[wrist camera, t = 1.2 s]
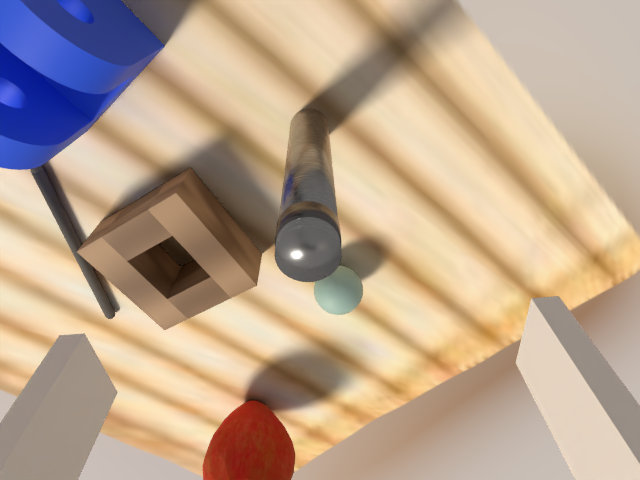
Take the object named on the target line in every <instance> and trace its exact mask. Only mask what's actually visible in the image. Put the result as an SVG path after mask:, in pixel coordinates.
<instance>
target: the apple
mask: <svg viewBox="0 0 640 480" xmlns="http://www.w3.org/2000/svg"><path fill="white" fill-rule="evenodd" d="M294 464H295V451H294V447H293V443H292V440H291V438H290V437H289V435H288V433H287V431H286V429H285V427H284V426H283V424H282V423H281V422H280V421H279V419H278V418H277V417H276V416H275V414H274V413H273V412H272V411H271V409H270V408H269V407H267V406H266V405H265V404H263V403H261V402H259V401H253V400H251V401H248V402H246V403H244V404H243V405H241V406H240V407H238V408H237V409H235V410H234V411H233V412H232V413H231V414H230V415H229V416H228V417H227V418H226V419H225V420H224V421H223V422H222V424H221V425H220V427H219V428H218V429H217V431H216V432H215V434H214V435H213V437H212V439H211V441H210V444H209V447H208V450H207V453H206V456H205V459H204V463H203V480H291V478H292V475H293V473H294Z"/></svg>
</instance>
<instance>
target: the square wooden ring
mask: <svg viewBox="0 0 640 480" xmlns="http://www.w3.org/2000/svg"><path fill="white" fill-rule="evenodd" d="M171 236H173V237H174V238H175V239H176V240H177V241H178V242H179V243H180V244H181V246H182V247H183V248H184V249H185V250H186V251H187V252H188V253H189V254H190V255H191V256H192V257H193V258H194V259H195V260H193V261H192V262H190V263H188V264H186V265H184V266H182V267H180V266H179V265H178V264H177V263H176V262H175V261H174V260H173V259H172V258H171V257H170V256H169V255H168V254H167V253H166V252H165V251H164V250H163V249H162V248H161V247H160V246H159V245H158V244H159V243H160V242H162V241H164V240H166V239H168V238H169V237H171ZM77 253H78V254H80V255H81V256H82V257H83V258H84V259H85V260H86V261H87V262H89V263H90V264H91V265H92V266H93V267H94V268H95V269H96V270H98V271H99V272H100V273H101V274H102V275H103V276H104V277H105V278H107V279H108V280H109V281H110V282H111V283H112V284H113V285H114V286H116V287H117V288H118V289H119V290H120V291H121V292H122V293H123V294H125V295H126V296H127V297H128V298H129V299H130V300H131V301H132V302H133V303H135V304H136V305H137V306H138V307H139V308H140V309H141V310H142V311H144V312H145V313H146V314H147V315H148V316H149V317H150V318H151V319H153V320H154V321H155V322H156V323H157V324H158V325H159V326H160V327H162V328H163V329H164V330H166V329H168V328H170V327H172V326H174V325H176V324H178V323H181V322H183V321H185V320H187V319H189V318H191V317H193V316H195V315H197V314H199V313H201V312H203V311H205V310H207V309H209V308H211V307H213V306H216V305H218V304H220V303H222V302H224V301H226V300H228V299H230V298H232V297H234V296H236V295H238V294H240V293H242V292H244V291H246V290H249V289H251V288H253V287H255V286H257V281H258V275H259V269H260V263H261V257H262V254H261V252H260V251H259V250H258V249H257V247H256V246H255V245H254V244H253V243H252V241H251V240H250V239H249V238H248V237H247V235H246V234H245V233H244V232H243V230H242V229H241V228H240V227H239V226H238V224H237V223H236V222H235V221H234V219H233V218H232V217H231V216H230V215H229V213H228V212H227V211H226V210H225V208H224V207H223V206H222V205H221V204H220V202H219V201H218V200H217V199H216V198H215V196H214V195H213V194H212V193H211V191H210V190H209V189H208V188H207V187H206V185H205V184H204V183H203V182H202V180H201V179H200V178H199V177H198V176H197V174H196V173H195V172H194V171H193V170H192V168H191V167H190V168H189V169H187V170H185V171H184V172H182V173H180V174H179V175H177V176H176V177H174V178H172V179H171V180H169V181H167V182H166V183H164V184H162V185H161V186H159V187H157V188H156V189H154V190H152V191H151V192H149V193H148V194H146V195H144V196H143V197H141V198H139V199H138V200H136V201H134V202H133V203H131V204H129V205H128V206H126V207H125V208H123V209H121V210H120V211H118V212H116V213H115V214H113V215H111V216H110V217H108V218H106V219H105V220H103V221H101V222H100V223H99V225H98V226H97V227H96V228H95V230H94V231H93V232H92V233H91V235H90V236H89V237H88V238H87V240H86V241H85V242H84V243H83V245H82V246H81V247H80V248H79V250H78V251H77Z"/></svg>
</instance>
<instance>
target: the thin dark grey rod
mask: <svg viewBox="0 0 640 480" xmlns="http://www.w3.org/2000/svg"><path fill="white" fill-rule="evenodd" d="M31 173H32V175H33V177H34V179H35V181H36V183H37V185H38V187H39V188H40V190H41V192H42V194H43V196H44V198H45V200H46V202H47V204H48V206H49V208H50V210H51V212H52V214H53V216H54V218H55V219H56V221H57V223H58V225H59V227H60V229H61V231H62V233H63V235H64V237H65V239H66V241H67V243H68V245H69V247H70V249H71V250H72V252H73V254H74V256H75V258H76V260H77V262H78V264H79V266H80V268H81V270H82V272H83V274H84V276H85V278H86V280H87V281H88V283H89V285H90V287H91V289H92V291H93V293H94V295H95V297H96V299H97V301H98V303H99V305H100V307H101V309H102V311H103V313H104V314H105V316H106V318H108V319H112V318H113V317H114V316H115V312H114V310H113V308H112V306H111V304H110V302H109V300H108V298H107V296H106V294H105V292H104V290H103V288H102V286H101V284H100V281H99V279H98V277H97V275H96V273H95V271H94V269H93V267H92V265H91V264H90V263H89V262H87V261H86V260H85V259H84V258H83V257H82V256H81V255H80V254H78V253H77V251H78V250H79V248H80V247H81V246H82V245H81V243H80V241H79V239H78V237H77V235H76V233H75V231H74V229H73V227H72V225H71V223H70V221H69V219H68V217H67V215H66V213H65V211H64V209H63V207H62V205H61V203H60V201H59V199H58V197H57V195H56V193H55V191H54V189H53V187H52V185H51V183H50V181H49V179H48V177H47V175H46V172H45V170H44V169H43V167H42V166H39V167H36V168H32V169H31Z"/></svg>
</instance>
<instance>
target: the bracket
mask: <svg viewBox="0 0 640 480" xmlns="http://www.w3.org/2000/svg"><path fill="white" fill-rule="evenodd" d="M163 47H164V45H163V44H162V43H161V42H160V41H159V40H158V39H157V38H156V36H155V35H154V34H153V33H152V32H151V31H150V30H149V29H148V28H147V27H146V26H145V25H144V24H143V23H142V22H141V21H140V20H139V19H138V18H137V17H136V16H135V15H134V14H133V13H132V12H131V11H130V10H129V9H128V7H127V6H126V5H125V4H124V3H123V2H122V1H121V0H0V167H2V168H7V169H18V170H22V169H32V168H36V167H39V166H41V165H43V164H45V163H46V162H48V161H49V160H50V159H51V158H53V157H54V156H55V155H57V154H58V153H59V152H61V151H62V150H63V149H64V148H66V147H67V146H68V145H70V144H71V143H72V142H74V141H75V140H76V139H77V138H79V137H80V136H81V135H83V134H84V133H85V132H87V131H88V130H89V128H90V127H91V126H92V125H93V124H94V123H95V122H96V121H97V120H98V119H99V118H100V116H101V115H102V114H103V113H104V112H105V111H106V110H107V109H108V108H109V107H110V105H111V104H112V103H113V102H114V101H115V100H116V99H117V98H118V97H119V96H120V94H121V93H122V92H123V91H124V90H125V89H126V88H127V87H128V86H129V85H130V84H131V82H132V81H133V80H134V79H135V78H136V77H137V76H138V75H139V74H140V73H141V71H142V70H143V69H144V68H145V67H146V66H147V65H148V64H149V63H150V62H151V60H152V59H153V58H154V57H155V56H156V55H157V54H158V53H159V52H160V51H161V50H162V48H163Z"/></svg>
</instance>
